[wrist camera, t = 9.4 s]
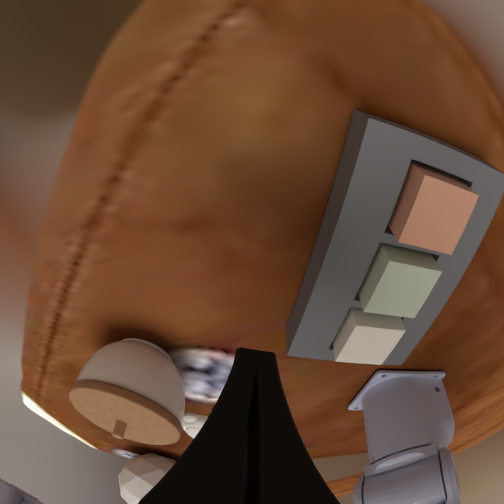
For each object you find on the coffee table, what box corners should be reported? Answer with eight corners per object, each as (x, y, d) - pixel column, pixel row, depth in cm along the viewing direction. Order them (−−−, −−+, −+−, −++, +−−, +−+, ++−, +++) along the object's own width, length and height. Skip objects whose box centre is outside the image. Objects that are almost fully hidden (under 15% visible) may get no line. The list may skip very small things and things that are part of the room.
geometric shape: (178, 435, 53) (213, 492, 41) (167, 470, 56) (196, 520, 44) (110, 442, 44) (138, 509, 33) (109, 477, 47) (133, 534, 36)
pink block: (456, 177, 15) (479, 195, 13) (434, 231, 17) (451, 255, 15) (405, 158, 15) (424, 174, 12) (383, 218, 17) (397, 242, 15)
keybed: (484, 160, 15) (509, 177, 13) (393, 338, 25) (400, 365, 22) (353, 109, 15) (369, 117, 13) (286, 326, 25) (286, 355, 22)
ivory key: (396, 304, 20) (405, 330, 18) (375, 338, 22) (381, 364, 20) (349, 297, 20) (356, 325, 18) (331, 334, 22) (335, 361, 20)
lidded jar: (196, 334, 26) (172, 431, 18) (195, 393, 32) (179, 467, 24) (87, 309, 26) (44, 389, 18) (108, 372, 32) (82, 438, 24)
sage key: (426, 247, 18) (442, 271, 15) (403, 292, 20) (414, 318, 18) (377, 235, 17) (389, 260, 15) (355, 284, 20) (363, 311, 17)
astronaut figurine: (276, 428, 37) (276, 448, 35) (200, 434, 40) (197, 451, 38) (252, 401, 33) (250, 424, 30) (168, 408, 36) (163, 427, 33)
